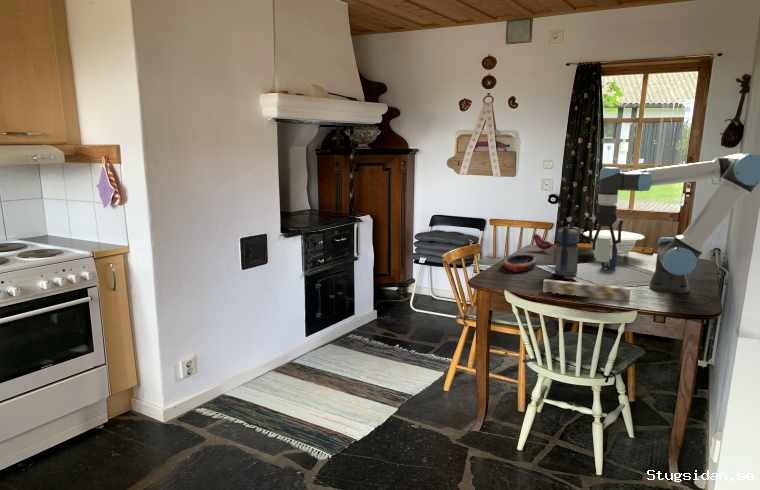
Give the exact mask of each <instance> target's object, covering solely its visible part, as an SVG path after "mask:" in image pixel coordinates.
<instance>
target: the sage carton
mask: <svg viewBox="0 0 760 490" xmlns="http://www.w3.org/2000/svg"><path fill="white" fill-rule="evenodd" d="M610 248H611V236H608V235H598V238H597V251H596V258H595V261H596V262H601V263H602V262H609V257H610Z"/></svg>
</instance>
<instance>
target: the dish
mask: <svg viewBox="0 0 760 490" xmlns="http://www.w3.org/2000/svg"><path fill="white" fill-rule="evenodd" d="M537 261H538V259H537V256H536V255H533V254H527V253H525V254H524V253H521V254H514V255H510V256H507V257H506V258H505V257H504V259H503V260H502V265H503V266H504V268H505V269H506V270H508V271H510V272H515V273H520V272H525V271H528V270H531V269H532V268H534V266H535V265H536V263H537Z"/></svg>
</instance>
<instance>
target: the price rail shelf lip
mask: <svg viewBox="0 0 760 490" xmlns="http://www.w3.org/2000/svg"><path fill="white" fill-rule="evenodd" d="M542 292H543V293H547V292H552V293H551V294H556V293H559V294H558V295H565V294H566V296H567V295H568V296H575V295H576V296H577V297H586V298H587V297H588V298H594V299H595V298H596V299H605V300H614V301H621V302H623V301H625V302H630V297H631V287H629V286H618V285H607V284H596V283H586V282H585V283H584V282H576V281H565V280H555V279H545V278H544V279H543V283H542Z"/></svg>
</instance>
